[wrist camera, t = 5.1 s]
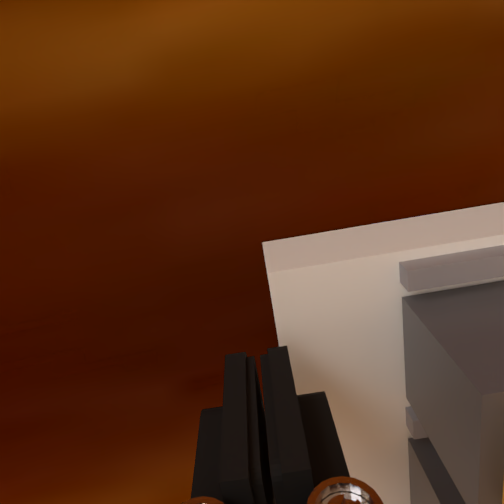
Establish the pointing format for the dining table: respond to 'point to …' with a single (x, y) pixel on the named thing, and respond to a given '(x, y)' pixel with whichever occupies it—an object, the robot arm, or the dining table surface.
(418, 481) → the block
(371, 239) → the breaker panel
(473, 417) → the tagged breaker
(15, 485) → the dining table surface
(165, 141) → the dining table surface
